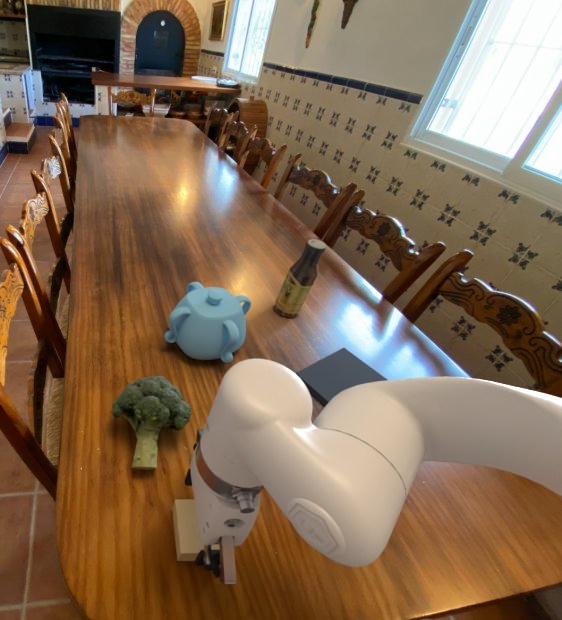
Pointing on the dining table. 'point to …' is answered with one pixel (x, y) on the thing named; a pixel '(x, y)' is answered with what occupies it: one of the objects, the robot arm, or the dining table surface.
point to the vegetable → (151, 414)
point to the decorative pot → (209, 323)
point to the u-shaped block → (336, 375)
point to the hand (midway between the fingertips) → (200, 520)
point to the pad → (187, 531)
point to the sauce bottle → (299, 280)
